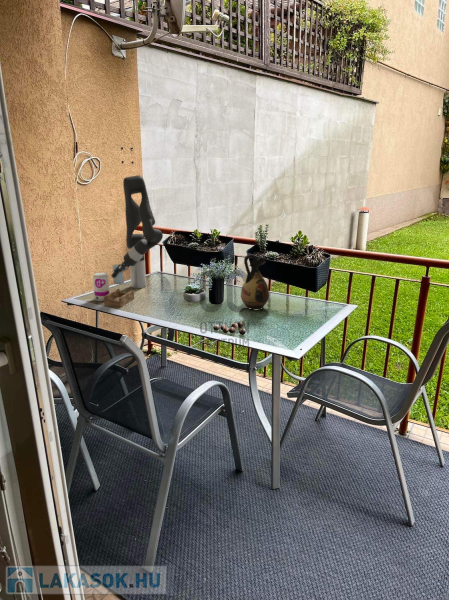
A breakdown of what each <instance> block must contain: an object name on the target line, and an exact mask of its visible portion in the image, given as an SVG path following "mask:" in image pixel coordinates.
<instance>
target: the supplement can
mask: <svg viewBox="0 0 449 600" xmlns="http://www.w3.org/2000/svg"><path fill="white" fill-rule="evenodd" d="M92 279H93V290H94V299H95V300H96V301H98V302H104V296H106V295H108V294H110V281H109V275H108V273H107V272H103V271H102V272H95V273H94V275H93V277H92Z"/></svg>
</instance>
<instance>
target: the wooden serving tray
mask: <svg viewBox="0 0 449 600" xmlns="http://www.w3.org/2000/svg"><path fill="white" fill-rule="evenodd" d="M134 291H135V290H133V289H131V290H130V291H128V292H122V291H121V292H120V288H117V289H115V290H113V291H111V292H109V294H108V295H106V296H104V301H103V302H104V306H105V307H117V308H123V307H124V306H125V305H127V304H129V303H130V302H133V300H135V292H134Z"/></svg>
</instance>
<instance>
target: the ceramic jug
mask: <svg viewBox="0 0 449 600" xmlns="http://www.w3.org/2000/svg"><path fill="white" fill-rule="evenodd" d="M250 259H253V260H252V261H251V263H249V264H248V262H249V261H248V260H250ZM265 263H267V260H265V258H263V257H262V256H260V255H259V256H258V257H256V255H255V254H252V253H248V254H246V255H245V257H244V260H243V264H244V267H245V271H246V278H245V280H244V282H243V284H242V286H241V290H240V299H241V301H242V303H243V304H244V305H245V308H246V307H247V308H251V309H261V308H263V309H264V307H265V305H266V304H267V302H268V301H269V298H270V291H269V290H270V289H269V287H268V284H267V281H266V280H265V278H264V276H263V275H262V274H261V272H260V269H259V267H260V266H262V265H265ZM249 267H252V269H251V270H250V268H249Z"/></svg>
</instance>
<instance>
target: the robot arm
mask: <svg viewBox="0 0 449 600" xmlns="http://www.w3.org/2000/svg"><path fill="white" fill-rule="evenodd" d="M123 192H124V200H125V225H126V238H125V239H126V242H125V243H126V246H127V248H128V249H129V250H128V251H127V252H126V253H125V254H124V256H123V260H124V261H122V262H120V264H119V265H118V267H117V268H116V269H115V270H114V273H113V272H112V274H111V277H112V279H113V278H115V277H116V276H117V275H118V274H119V273H120V272H122V271H123V273H124V272H126V271H127V270H128V269H129V271H130V272H129V273H130V287H131V288H134V289H143V288H145V287H146V286H147V279H146V277H147V276H146V258H145V257H146V256H145V254H146V253H147V252H148V251H149V250H150V249H151V250H152V248H154V247H155V246H157V245H159V244H160V242H162V240H163V236H164V234H163V232H162V231H161V230H160V229H158V228H154V225H155V224H156V220H155V217H154V213H153V212H152V209H151V208H152V207H151V204H150V201H149V200H150V199H149V195H148V191H147V187H146V182H145V180H144V178H143V176H141V175H139V174H138V175H131V176H127V177H124V178H123ZM135 194H140V195H141V200H140V204H138V203H137V202H136V201H135V200H134V198H133V197H132V196H133V195H135ZM140 224H142V233H134V231H135V230H136V229H137V228H138V227H139V226H140ZM122 269H123V270H122ZM117 270H118V271H117Z"/></svg>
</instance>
